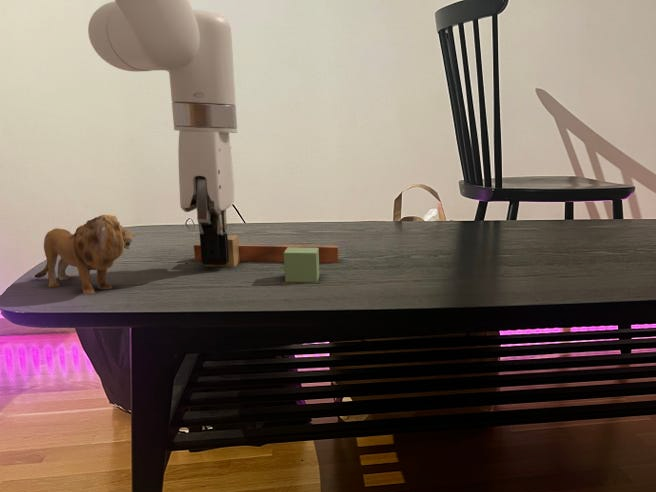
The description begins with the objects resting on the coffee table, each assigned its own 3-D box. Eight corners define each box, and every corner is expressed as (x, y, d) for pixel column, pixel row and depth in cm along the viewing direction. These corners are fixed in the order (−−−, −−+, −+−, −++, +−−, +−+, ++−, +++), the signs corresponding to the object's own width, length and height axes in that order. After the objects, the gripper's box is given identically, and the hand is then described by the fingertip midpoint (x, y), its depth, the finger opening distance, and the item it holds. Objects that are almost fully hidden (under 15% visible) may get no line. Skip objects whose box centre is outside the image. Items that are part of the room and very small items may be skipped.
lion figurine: (147, 291, 82) (138, 214, 80) (110, 300, 78) (99, 218, 75) (54, 277, 87) (43, 204, 84) (14, 285, 82) (0, 208, 79)
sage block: (285, 283, 89) (283, 252, 88) (288, 277, 93) (287, 247, 92) (317, 284, 90) (316, 252, 88) (319, 277, 93) (318, 247, 92)
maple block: (204, 268, 96) (201, 239, 95) (210, 262, 100) (208, 234, 99) (234, 268, 97) (232, 239, 95) (240, 263, 100) (237, 235, 99)
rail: (195, 262, 99) (193, 245, 99) (197, 260, 101) (195, 243, 100) (338, 264, 102) (337, 247, 102) (338, 262, 104) (338, 245, 103)
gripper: (189, 119, 95) (200, 253, 101) (156, 117, 81) (170, 274, 87) (246, 121, 96) (254, 254, 102) (223, 120, 82) (233, 275, 88)
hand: (215, 263), depth 94 cm, fingers closed
